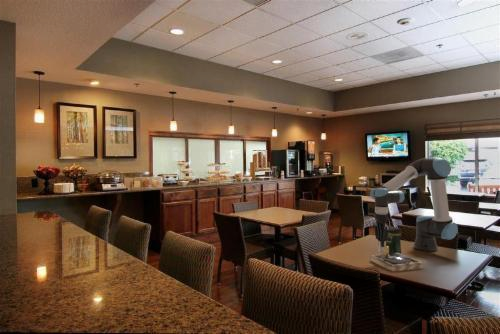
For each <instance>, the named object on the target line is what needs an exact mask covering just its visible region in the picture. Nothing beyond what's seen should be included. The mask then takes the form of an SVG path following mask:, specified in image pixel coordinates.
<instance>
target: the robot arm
mask: <svg viewBox="0 0 500 334" xmlns="http://www.w3.org/2000/svg"><path fill="white" fill-rule="evenodd" d="M451 172H452V166H451V163H450V162H449V160H447V159H445V158H440V157H430V158H427V157H425V158H420V159H418V160H415V161H414V162H412V163H409V164H408V165H407V166H406V167H405V169H404V170H403V171H401V172H399V174H397V175H395V176H394V177H392V178H391V179H390V180H388V181H387V182H386V183H384V184H383V185H381V186H380V187H378V188H377V187H376V188H373V189H371V190H370V192H369V196H370V198H371V199H372V200H374V219H375V222H373V223H372V225H373V228H374V234H375V239H376V240H377V242H378V244H377V245H378V253H385V243H386V241H387V237H388V232H389V229H390V226H389V225H388V222H387V221H388V220H389V215H388V213H389V204H399V203H403V202H404V200H405V194H404V192H403V191H402V190H399V189H400V188H402V186H404V185H406V184H407V183H408V182H410V181H411V180H412V179H416V178H418V177H421V176H426V178H427V179H426V180H428V181H429V182H430V191H431V200H432V206H433V215H422V216H421V215H420V216H417V217H416V221H415V224H416V227H415V230H416V231H415V232H416V234H415V236H416V237H415V240H414V243H413V248H414V249H416V250H419V251H423V252H437V251H438V250H439V249H438V248H439V246H438V244H437V239H436V238H441V239H442V240H453V239H454V238H455V237H456V235H457V234H458V231H459V229H458V228H459V227H458V225H457V223H456V222H454V221H453V217H452V216H450V211H449V200H448V193H447V192H448V191H447V186H446V184H447V183H446V180H447V179H448V177H449V175H451Z"/></svg>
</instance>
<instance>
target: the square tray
mask: <svg viewBox="0 0 500 334" xmlns="http://www.w3.org/2000/svg"><path fill="white" fill-rule="evenodd" d="M382 254H383V253H382ZM382 254H381V253H379V254H371V256H370V258H371V259H370V261H371V262H373V263H375V264H377V265H379V266H381V267H383V268H385V269H387V270H389V271H391V272H401V271H402V270H403V271H410V269H411V270H420V269H423V261H420V260H418V259H415V258H413V257H410V258H411V263H405V264H391V263H389V262H386V261H384V260H383V259H382ZM396 254H400V253H396ZM401 254H402V253H401ZM402 255H404V254H402Z"/></svg>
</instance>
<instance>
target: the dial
mask: <svg viewBox="0 0 500 334" xmlns="http://www.w3.org/2000/svg"><path fill="white" fill-rule="evenodd" d="M411 258H412V257H410V256H409V255H405V254H403V255H402V253H401V254H396V253H389V246H386V245H384V253H382V259H383V260H384V261H386V262H389V263H391V264H405V263H411Z"/></svg>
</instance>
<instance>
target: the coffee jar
mask: <svg viewBox="0 0 500 334" xmlns="http://www.w3.org/2000/svg"><path fill="white" fill-rule="evenodd" d="M389 227H390V229H389V232H388V237H387V241H385V246H389V253H400V254H402V245H401V237H402V229H401V228H399V227H396V226H389Z"/></svg>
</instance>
